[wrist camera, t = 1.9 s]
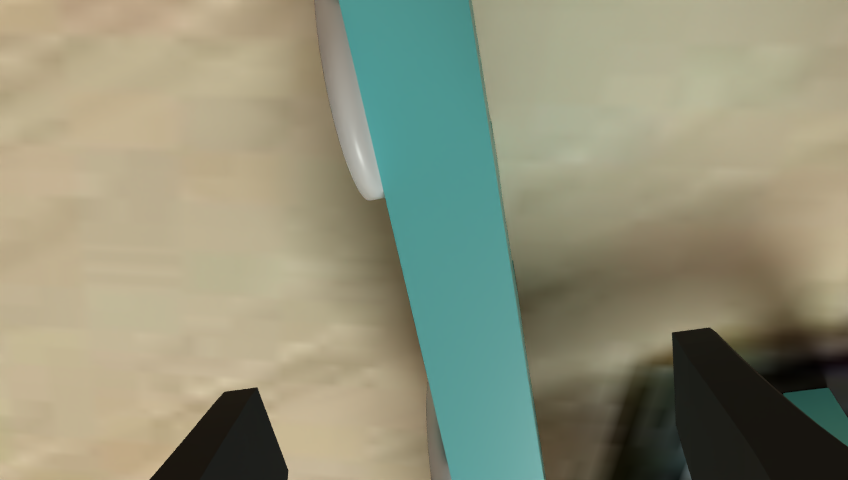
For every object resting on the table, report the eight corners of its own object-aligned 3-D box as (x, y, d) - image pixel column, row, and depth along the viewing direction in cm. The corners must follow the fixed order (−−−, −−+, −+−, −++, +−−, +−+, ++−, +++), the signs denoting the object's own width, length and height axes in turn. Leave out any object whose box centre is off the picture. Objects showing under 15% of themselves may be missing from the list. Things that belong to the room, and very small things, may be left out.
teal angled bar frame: (461, 461, 24) (464, 628, 19) (332, -115, 16) (283, -74, 11) (826, 420, 22) (925, 587, 18) (876, -225, 15) (1076, -233, 10)
